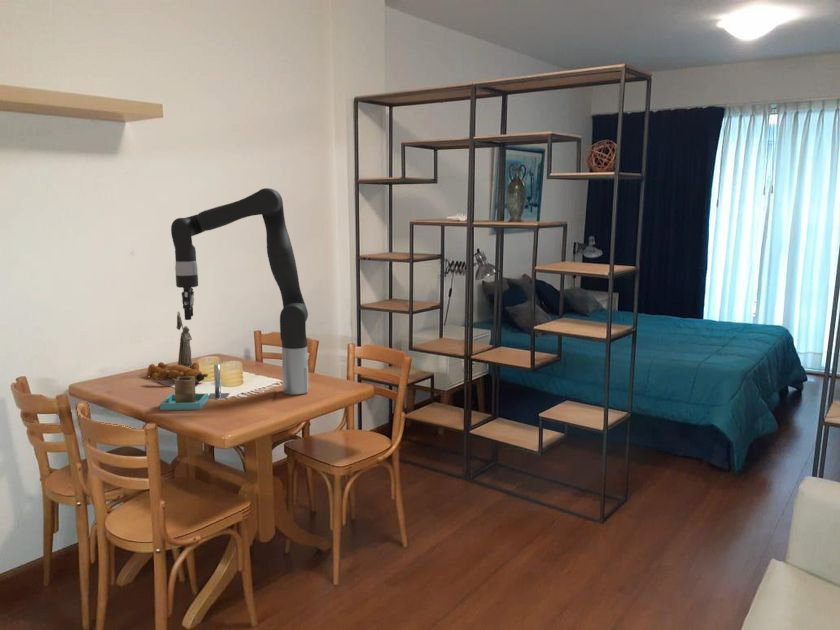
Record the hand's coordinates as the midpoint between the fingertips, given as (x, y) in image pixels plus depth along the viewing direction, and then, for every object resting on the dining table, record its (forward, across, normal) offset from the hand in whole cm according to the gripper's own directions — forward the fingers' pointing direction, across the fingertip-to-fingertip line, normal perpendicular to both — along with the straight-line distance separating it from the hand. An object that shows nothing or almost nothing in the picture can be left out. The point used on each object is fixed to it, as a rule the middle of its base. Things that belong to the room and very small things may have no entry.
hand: (189, 318), depth 238 cm
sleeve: (+27, -18, +1) cm, 33 cm away
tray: (+28, -18, +1) cm, 33 cm away
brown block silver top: (+28, -10, -9) cm, 31 cm away
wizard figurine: (+28, +36, +6) cm, 46 cm away
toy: (+28, +18, +7) cm, 34 cm away
